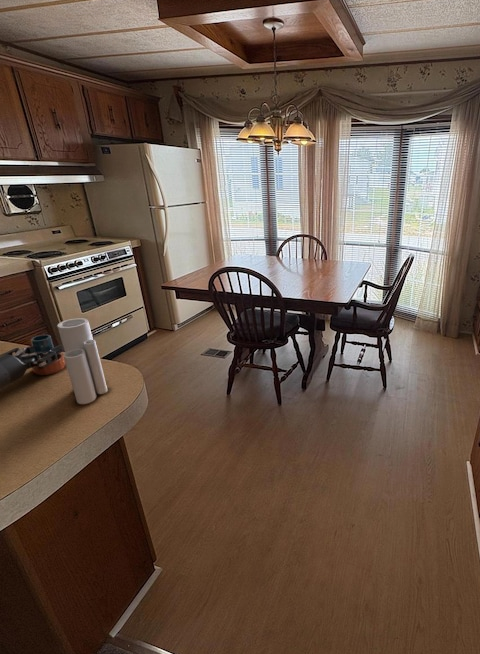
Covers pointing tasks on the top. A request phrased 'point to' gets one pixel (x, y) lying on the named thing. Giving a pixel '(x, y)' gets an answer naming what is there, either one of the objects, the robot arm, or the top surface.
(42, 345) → the cup
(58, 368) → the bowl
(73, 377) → the vase
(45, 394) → the top surface
